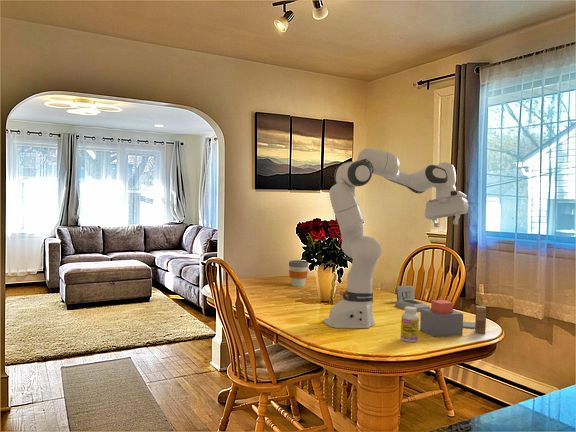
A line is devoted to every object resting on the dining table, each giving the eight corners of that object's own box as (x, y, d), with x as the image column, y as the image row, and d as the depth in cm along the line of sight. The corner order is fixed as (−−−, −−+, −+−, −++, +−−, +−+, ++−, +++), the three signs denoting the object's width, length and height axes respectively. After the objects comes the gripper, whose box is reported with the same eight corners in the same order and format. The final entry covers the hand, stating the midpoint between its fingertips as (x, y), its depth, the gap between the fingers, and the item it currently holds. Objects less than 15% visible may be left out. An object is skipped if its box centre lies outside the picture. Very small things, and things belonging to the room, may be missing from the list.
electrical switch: (399, 304, 251) (398, 286, 252) (394, 302, 256) (394, 285, 257) (414, 303, 254) (414, 286, 254) (410, 302, 259) (410, 285, 259)
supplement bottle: (399, 341, 183) (400, 308, 183) (401, 336, 189) (402, 305, 189) (417, 343, 181) (418, 310, 180) (418, 338, 187) (420, 306, 187)
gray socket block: (434, 337, 190) (435, 315, 190) (420, 329, 201) (420, 308, 200) (462, 335, 194) (463, 313, 193) (446, 328, 204) (447, 307, 204)
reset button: (439, 315, 193) (439, 303, 193) (430, 312, 199) (431, 300, 199) (452, 315, 195) (453, 303, 195) (443, 311, 201) (444, 299, 201)
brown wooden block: (485, 333, 197) (486, 307, 196) (476, 333, 198) (477, 307, 197) (483, 331, 200) (484, 306, 200) (474, 330, 201) (475, 305, 201)
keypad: (415, 305, 233) (395, 299, 246) (415, 313, 233) (395, 306, 246) (429, 304, 237) (409, 298, 251) (429, 311, 237) (408, 305, 251)
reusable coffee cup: (287, 283, 306) (287, 260, 305) (306, 283, 307) (306, 260, 307) (289, 286, 293) (290, 262, 293) (309, 286, 295) (309, 263, 294)
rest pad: (477, 328, 204) (477, 327, 204) (455, 327, 207) (455, 325, 207) (474, 323, 213) (474, 322, 213) (453, 322, 215) (453, 320, 215)
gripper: (422, 199, 224) (421, 226, 219) (462, 190, 209) (462, 220, 204) (429, 202, 227) (429, 230, 223) (469, 194, 212) (470, 224, 208)
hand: (445, 225), depth 214 cm, fingers open, 8 cm apart
